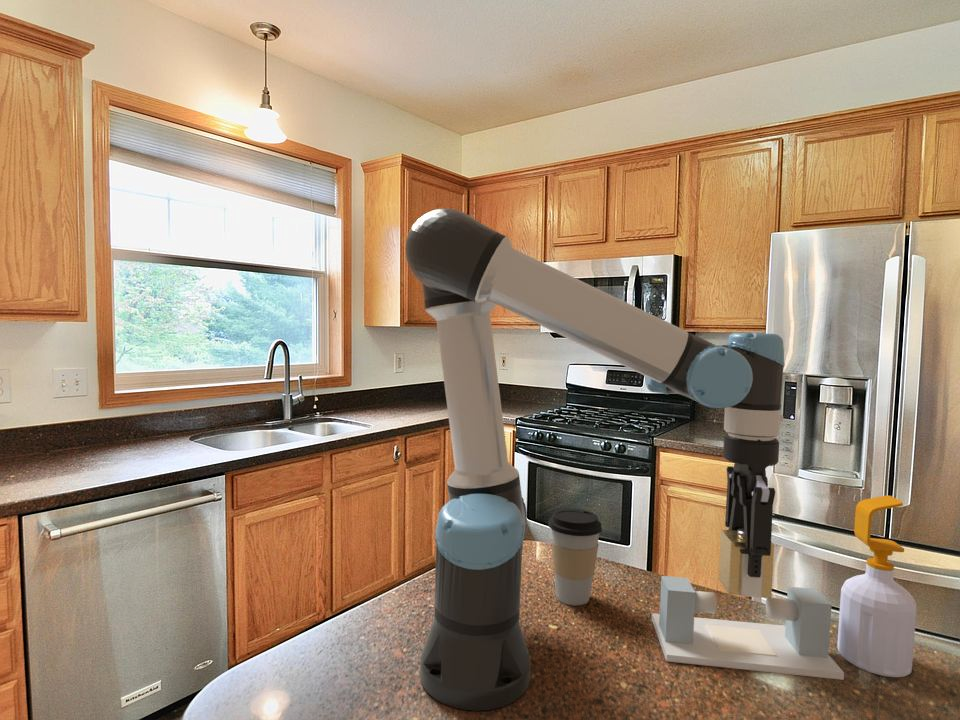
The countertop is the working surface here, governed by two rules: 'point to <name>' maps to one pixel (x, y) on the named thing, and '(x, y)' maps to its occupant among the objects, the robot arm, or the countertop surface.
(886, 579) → the soap bottle
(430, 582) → the countertop surface
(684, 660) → the shaft rig
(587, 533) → the coffee cup
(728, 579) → the block
